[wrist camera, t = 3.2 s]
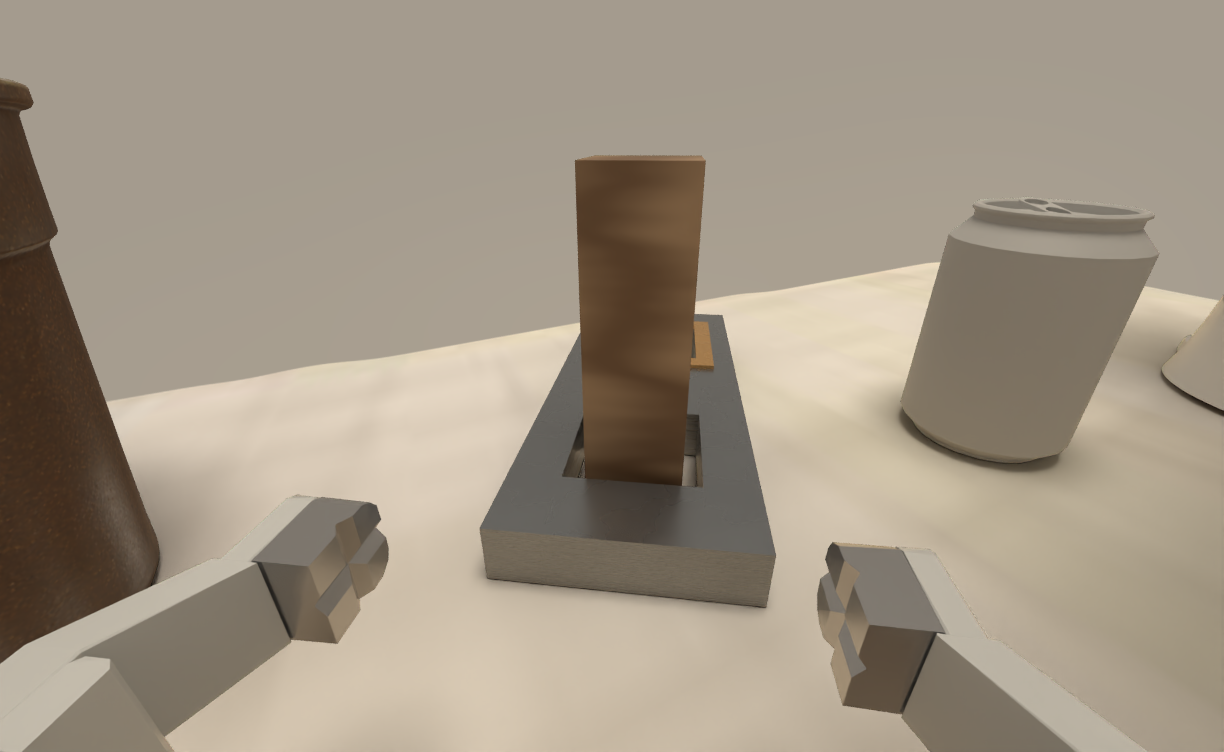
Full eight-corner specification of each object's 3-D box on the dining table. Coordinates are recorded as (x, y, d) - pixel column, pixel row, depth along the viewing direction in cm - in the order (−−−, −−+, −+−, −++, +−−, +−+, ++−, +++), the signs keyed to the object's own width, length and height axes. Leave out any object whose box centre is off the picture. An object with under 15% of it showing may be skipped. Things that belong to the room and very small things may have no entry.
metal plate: (719, 344, 39) (722, 312, 37) (766, 607, 17) (776, 551, 16) (592, 338, 40) (591, 307, 39) (487, 578, 18) (478, 524, 17)
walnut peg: (679, 464, 25) (701, 155, 18) (679, 519, 21) (705, 160, 15) (600, 458, 25) (595, 155, 19) (586, 511, 22) (574, 160, 15)
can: (962, 479, 23) (1062, 215, 18) (869, 402, 30) (923, 193, 25) (1102, 467, 24) (1237, 211, 19) (982, 395, 31) (1056, 191, 26)
